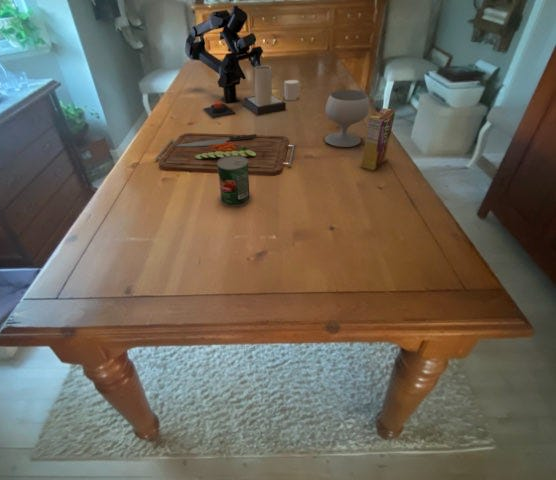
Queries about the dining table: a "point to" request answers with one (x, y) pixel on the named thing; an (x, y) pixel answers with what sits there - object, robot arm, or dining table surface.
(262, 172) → the chopping board
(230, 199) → the canned tomato
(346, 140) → the chalice
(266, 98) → the beaker
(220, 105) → the scale button
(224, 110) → the tare pad
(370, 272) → the dining table surface
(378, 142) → the candy box
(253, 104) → the scale
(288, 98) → the shot glass
